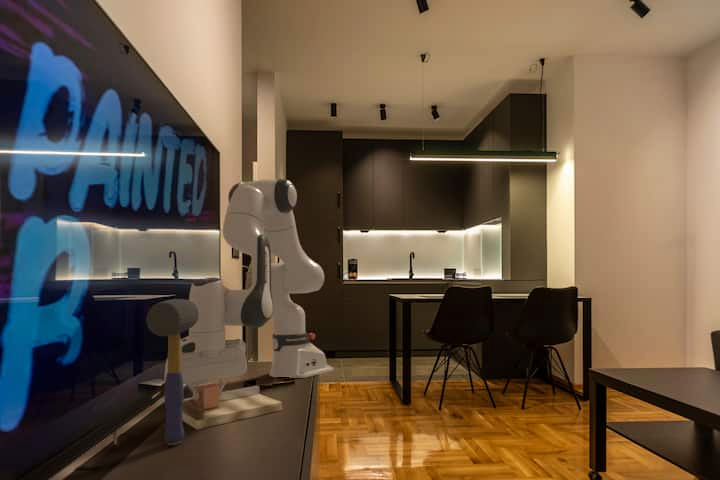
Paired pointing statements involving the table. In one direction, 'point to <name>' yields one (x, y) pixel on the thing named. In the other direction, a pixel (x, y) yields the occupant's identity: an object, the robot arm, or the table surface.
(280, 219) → the robot arm
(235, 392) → the steel straightedge
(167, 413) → the rubber mallet
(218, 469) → the table surface
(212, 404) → the block
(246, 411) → the birch board
